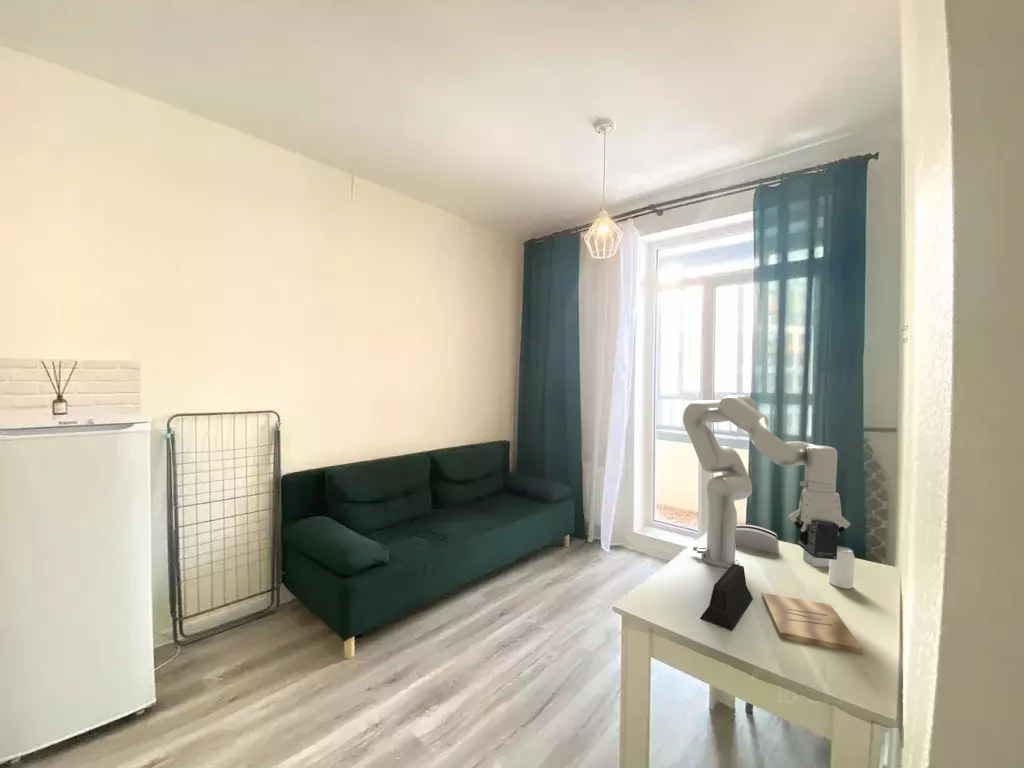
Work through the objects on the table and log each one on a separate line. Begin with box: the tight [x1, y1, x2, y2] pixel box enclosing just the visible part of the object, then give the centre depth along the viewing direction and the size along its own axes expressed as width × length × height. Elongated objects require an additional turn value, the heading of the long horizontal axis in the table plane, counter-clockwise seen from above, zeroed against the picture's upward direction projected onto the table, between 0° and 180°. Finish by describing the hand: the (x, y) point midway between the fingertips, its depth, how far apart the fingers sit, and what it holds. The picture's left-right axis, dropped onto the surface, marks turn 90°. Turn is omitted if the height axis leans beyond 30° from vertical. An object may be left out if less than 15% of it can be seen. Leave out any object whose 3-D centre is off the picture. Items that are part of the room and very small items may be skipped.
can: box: [828, 545, 855, 590], centre depth 146 cm, size 6×6×12 cm
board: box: [761, 592, 864, 655], centre depth 122 cm, size 18×22×2 cm
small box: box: [797, 519, 839, 560], centre depth 133 cm, size 11×6×10 cm, turn 170°
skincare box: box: [802, 549, 830, 567], centre depth 162 cm, size 6×6×7 cm
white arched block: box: [736, 524, 780, 555], centre depth 175 cm, size 17×5×10 cm, turn 55°
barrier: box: [699, 564, 754, 632], centre depth 129 cm, size 24×9×10 cm, turn 139°
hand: (817, 544), depth 133 cm, fingers closed on small box, 6 cm apart
